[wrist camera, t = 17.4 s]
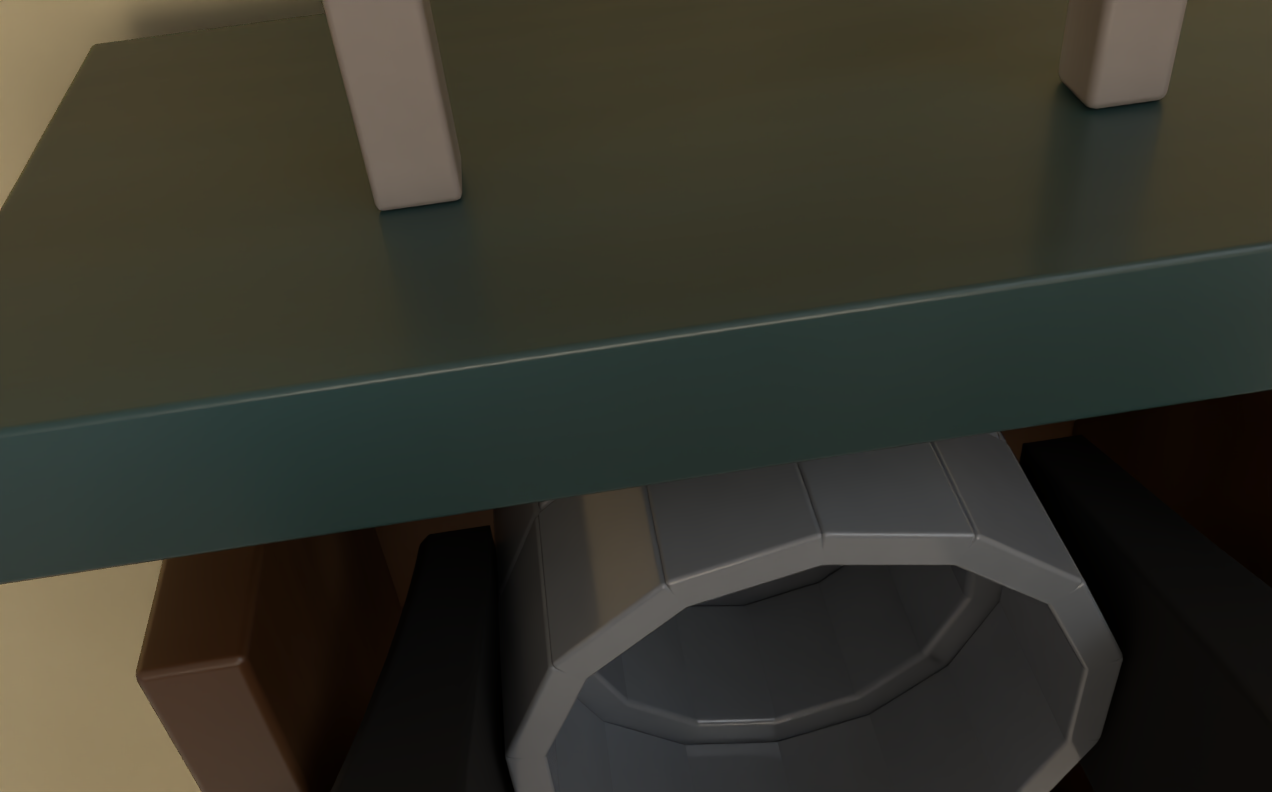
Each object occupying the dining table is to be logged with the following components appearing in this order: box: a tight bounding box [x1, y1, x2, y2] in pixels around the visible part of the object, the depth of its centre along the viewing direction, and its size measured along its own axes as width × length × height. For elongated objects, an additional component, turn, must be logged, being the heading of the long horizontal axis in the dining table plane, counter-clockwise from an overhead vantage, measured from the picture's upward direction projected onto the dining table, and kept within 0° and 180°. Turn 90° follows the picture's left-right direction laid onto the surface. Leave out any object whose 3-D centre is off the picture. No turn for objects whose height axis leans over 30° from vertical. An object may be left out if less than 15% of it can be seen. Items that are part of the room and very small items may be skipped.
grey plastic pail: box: [493, 431, 1123, 792], centre depth 12 cm, size 5×5×4 cm
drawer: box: [0, 0, 1272, 792], centre depth 12 cm, size 18×11×6 cm, turn 5°
